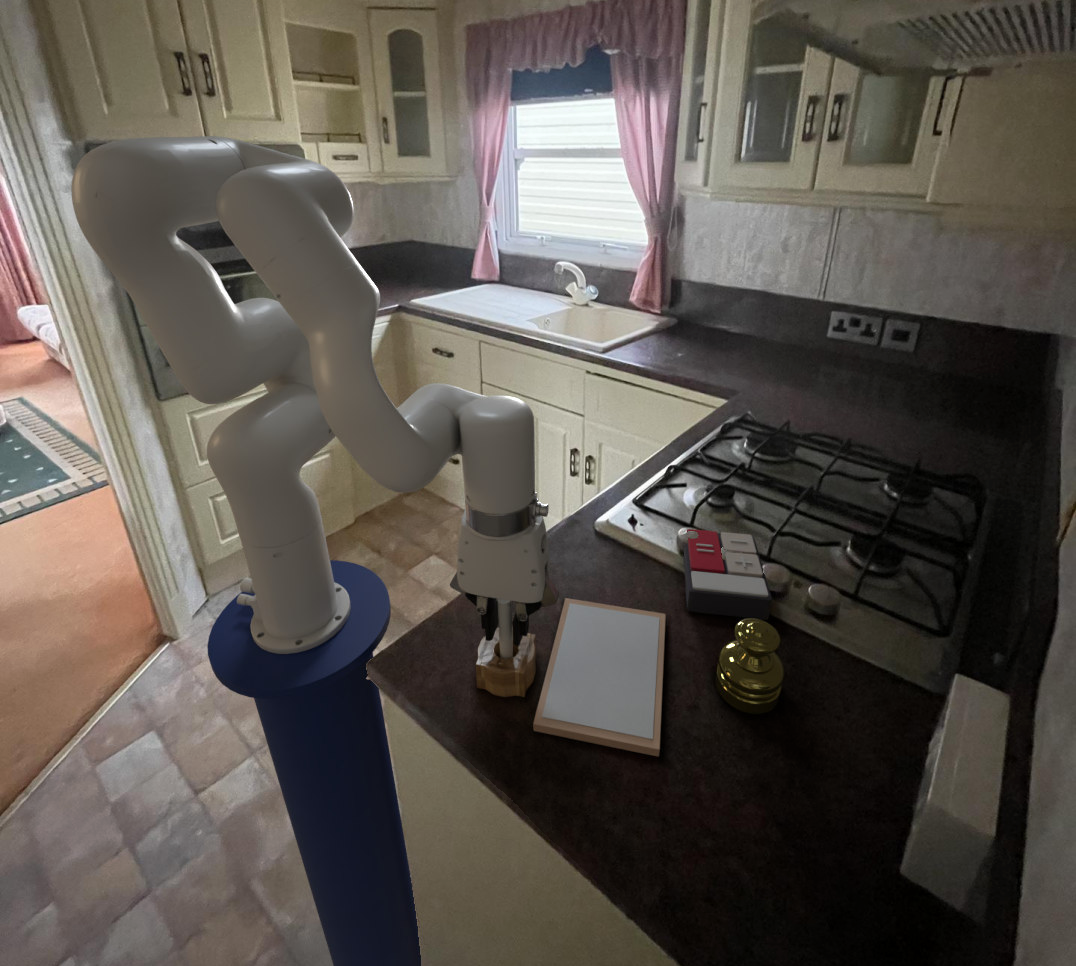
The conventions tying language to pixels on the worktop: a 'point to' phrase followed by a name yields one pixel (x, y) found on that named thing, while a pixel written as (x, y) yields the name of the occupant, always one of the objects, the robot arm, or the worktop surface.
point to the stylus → (505, 629)
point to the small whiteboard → (605, 677)
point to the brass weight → (751, 668)
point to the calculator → (725, 576)
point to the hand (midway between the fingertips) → (505, 633)
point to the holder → (506, 666)
